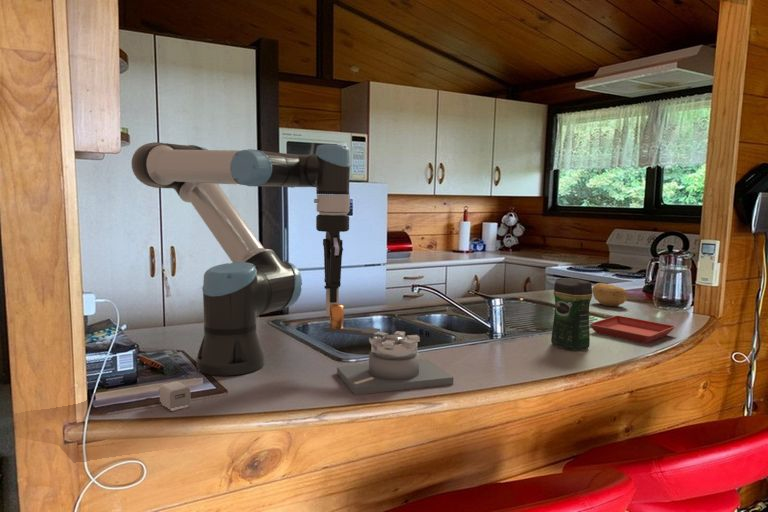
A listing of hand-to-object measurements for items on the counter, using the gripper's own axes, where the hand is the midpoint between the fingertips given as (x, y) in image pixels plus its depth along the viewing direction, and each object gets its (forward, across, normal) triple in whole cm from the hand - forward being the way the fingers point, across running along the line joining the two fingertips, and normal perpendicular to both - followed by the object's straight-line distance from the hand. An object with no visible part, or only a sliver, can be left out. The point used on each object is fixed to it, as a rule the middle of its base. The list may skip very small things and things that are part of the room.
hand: (332, 315), depth 130 cm
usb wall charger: (+12, +18, -33) cm, 40 cm away
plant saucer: (+13, -13, +92) cm, 93 cm away
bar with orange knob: (+6, +9, +7) cm, 13 cm away
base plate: (+12, +12, +12) cm, 21 cm away
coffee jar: (+12, -4, +65) cm, 67 cm away
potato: (+12, -51, +112) cm, 124 cm away
